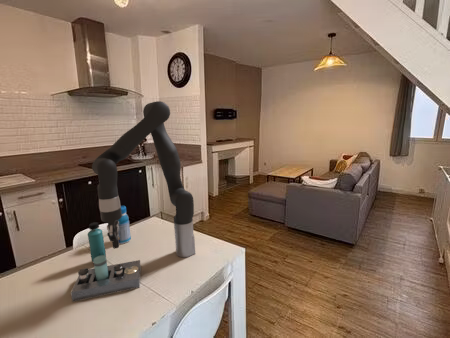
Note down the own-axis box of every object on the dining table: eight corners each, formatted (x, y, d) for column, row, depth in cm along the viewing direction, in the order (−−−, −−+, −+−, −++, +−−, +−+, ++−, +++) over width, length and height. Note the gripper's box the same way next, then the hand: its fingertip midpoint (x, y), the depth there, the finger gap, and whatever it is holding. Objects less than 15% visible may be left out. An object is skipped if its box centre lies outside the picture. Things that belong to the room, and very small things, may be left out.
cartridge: (110, 279, 102) (107, 254, 100) (108, 286, 98) (105, 260, 96) (98, 282, 101) (94, 256, 99) (96, 289, 97) (91, 262, 94)
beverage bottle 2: (127, 244, 132) (123, 210, 128) (112, 244, 132) (108, 210, 128) (133, 237, 140) (129, 204, 136) (119, 237, 140) (115, 205, 137)
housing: (140, 267, 110) (139, 259, 109) (139, 287, 97) (138, 278, 96) (82, 279, 103) (80, 270, 102) (72, 301, 90) (70, 291, 89)
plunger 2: (124, 273, 103) (123, 263, 102) (123, 278, 100) (122, 268, 99) (115, 275, 102) (114, 265, 101) (114, 280, 99) (113, 270, 98)
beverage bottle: (100, 266, 112) (94, 226, 108) (88, 265, 113) (82, 226, 109) (109, 258, 118) (104, 221, 114) (98, 257, 120) (92, 220, 116)
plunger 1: (90, 277, 99) (89, 267, 98) (88, 283, 96) (87, 272, 95) (81, 279, 98) (79, 269, 97) (78, 285, 95) (76, 274, 94)
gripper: (118, 212, 90) (124, 253, 93) (122, 201, 102) (127, 238, 105) (96, 215, 87) (103, 257, 91) (103, 203, 100) (108, 241, 103)
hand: (116, 247), depth 98 cm, fingers closed
